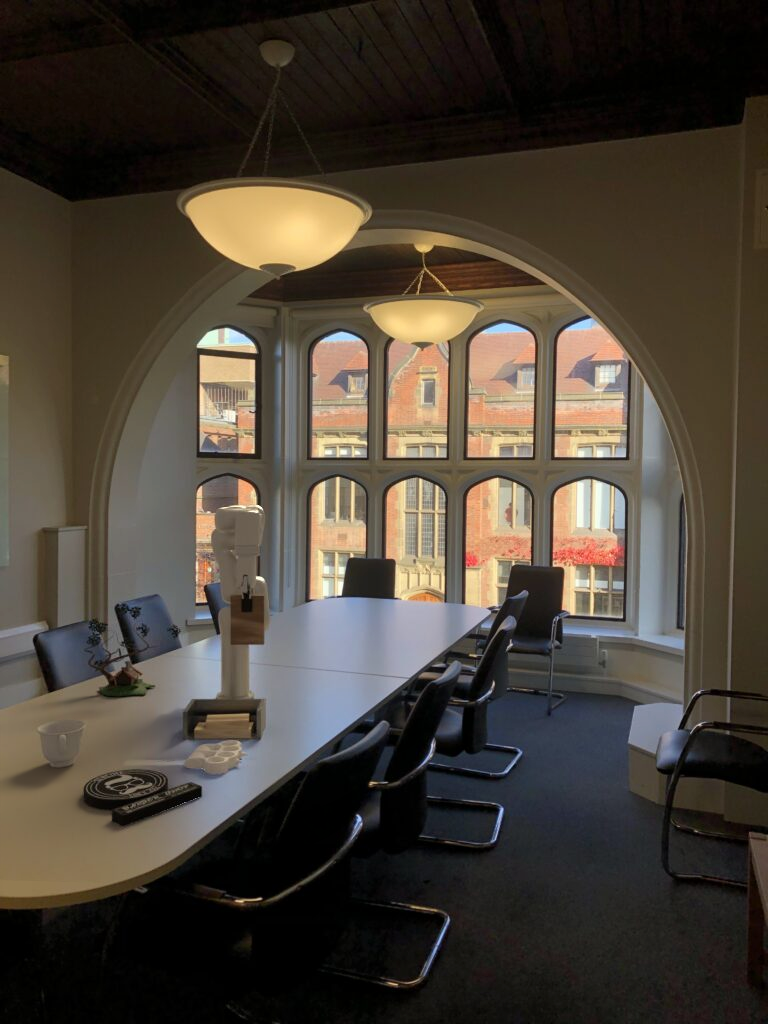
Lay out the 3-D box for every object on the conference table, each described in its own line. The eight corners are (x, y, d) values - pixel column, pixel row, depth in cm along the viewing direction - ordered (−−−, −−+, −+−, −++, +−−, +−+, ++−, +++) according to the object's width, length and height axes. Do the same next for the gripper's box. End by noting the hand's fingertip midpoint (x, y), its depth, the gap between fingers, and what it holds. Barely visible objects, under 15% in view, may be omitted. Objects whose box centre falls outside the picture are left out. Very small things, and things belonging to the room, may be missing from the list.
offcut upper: (207, 723, 236) (207, 715, 236) (249, 721, 238) (249, 713, 238) (205, 730, 230) (205, 721, 230) (248, 728, 232) (248, 720, 232)
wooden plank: (231, 643, 247) (231, 594, 247) (264, 643, 248) (264, 594, 247) (230, 644, 245) (230, 595, 245) (263, 644, 246) (263, 595, 245)
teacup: (37, 778, 203) (36, 739, 202) (36, 759, 216) (36, 722, 216) (88, 772, 207) (88, 733, 207) (84, 753, 221) (84, 717, 221)
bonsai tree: (68, 703, 268) (67, 608, 267) (94, 684, 293) (93, 597, 291) (174, 704, 269) (174, 609, 267) (191, 685, 293) (191, 598, 292)
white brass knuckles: (201, 750, 225) (253, 752, 224) (179, 774, 207) (236, 777, 206) (201, 739, 225) (253, 740, 224) (179, 761, 207) (236, 764, 206)
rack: (192, 729, 242) (191, 699, 242) (265, 728, 243) (265, 698, 243) (183, 743, 229) (182, 711, 229) (261, 743, 230) (261, 711, 230)
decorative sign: (203, 798, 192) (141, 773, 208) (203, 786, 192) (141, 762, 208) (123, 828, 176) (63, 798, 191) (122, 815, 176) (62, 787, 191)
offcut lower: (198, 730, 238) (198, 722, 237) (253, 730, 238) (253, 721, 238) (194, 738, 231) (194, 729, 230) (250, 738, 231) (250, 729, 231)
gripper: (238, 548, 253) (238, 606, 254) (231, 553, 237) (231, 615, 238) (262, 548, 253) (262, 606, 254) (256, 553, 237) (256, 615, 238)
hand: (247, 610), depth 246 cm, fingers closed on wooden plank, 2 cm apart
